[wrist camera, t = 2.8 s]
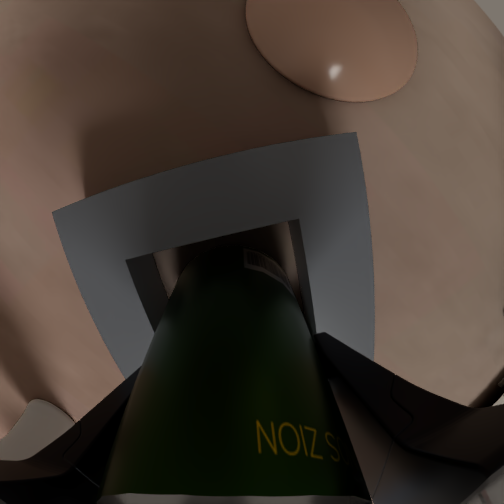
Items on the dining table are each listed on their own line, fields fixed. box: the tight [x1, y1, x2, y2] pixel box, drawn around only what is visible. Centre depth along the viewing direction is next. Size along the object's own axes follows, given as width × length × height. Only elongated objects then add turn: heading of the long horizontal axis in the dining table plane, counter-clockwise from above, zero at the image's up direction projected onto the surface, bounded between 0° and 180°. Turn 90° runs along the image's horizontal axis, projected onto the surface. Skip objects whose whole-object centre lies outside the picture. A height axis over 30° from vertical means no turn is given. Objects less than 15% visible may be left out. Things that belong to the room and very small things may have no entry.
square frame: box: [52, 132, 375, 379], centre depth 12 cm, size 12×12×3 cm
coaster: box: [246, 0, 418, 102], centre depth 10 cm, size 9×9×1 cm
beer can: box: [95, 245, 372, 504], centre depth 8 cm, size 5×5×12 cm
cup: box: [0, 399, 75, 461], centre depth 13 cm, size 9×9×10 cm
